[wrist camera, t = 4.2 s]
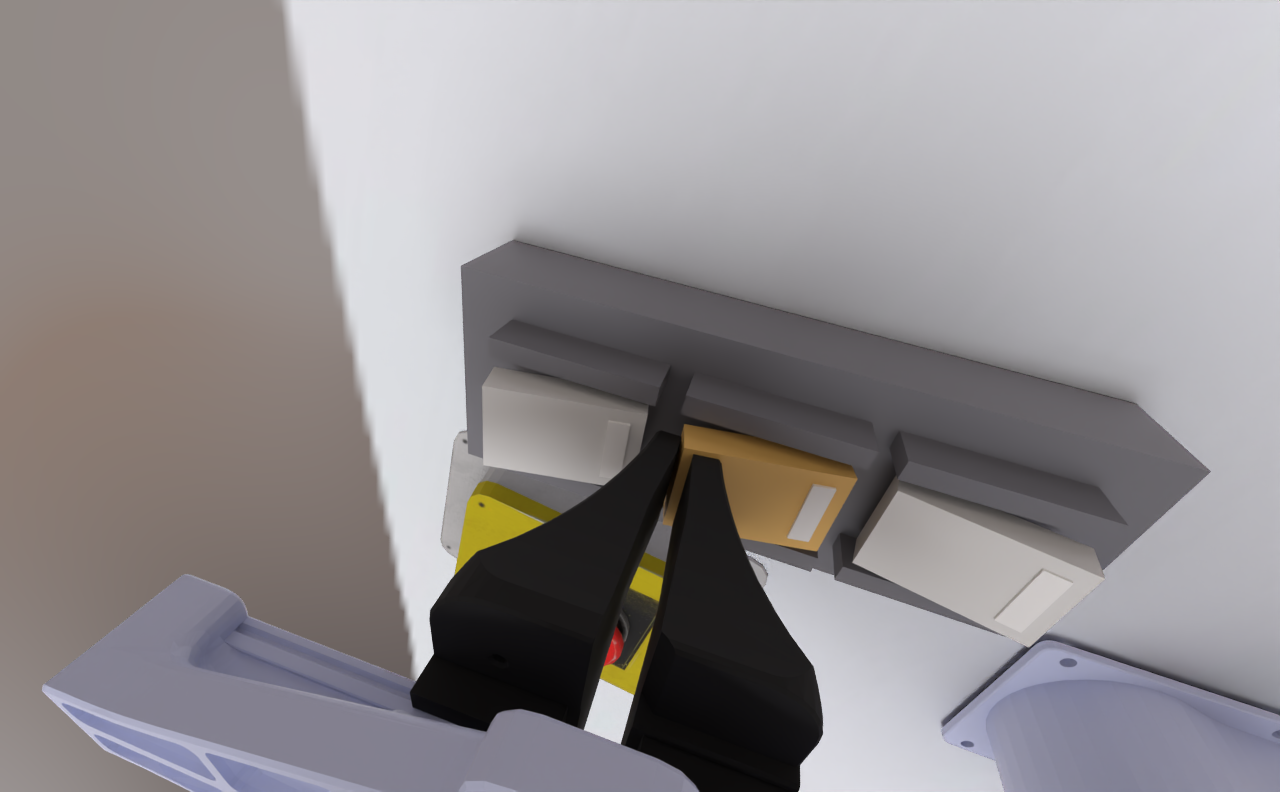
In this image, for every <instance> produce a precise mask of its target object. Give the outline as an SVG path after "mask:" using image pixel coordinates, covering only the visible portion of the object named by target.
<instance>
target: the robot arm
mask: <svg viewBox="0 0 1280 792" xmlns="http://www.w3.org/2000/svg"><path fill="white" fill-rule="evenodd" d="M680 442H681V436H679V435H675V434H672V433H668V432H665V431H662V430H660V431H658V432H656V433H655V435H654V436H653V438H652V439H651V440H650V442H649V443H648V444H647V445H646V446H645V447H644V449H643V450H642V451H641V452H640V453H639V454H638V455H637V456H636V457H635V458H634V459H633V460H632V461H631V462H630V463H629V464H628V465H627V466H626V467H625V468H624V469H623V470H621V471H620V472H619V473H618V474H617V475H616V476H614V477H613V478H612V479H611V480H610V481H608V482H607V483H606V484H605V485H604V486H602V487H601V488H600V489H599V490H597V491H596V492H595V493H593V494H592V495H590V496H589V497H588V498H586V499H585V500H583V501H582V502H580V503H579V504H577V505H576V506H574V507H572V508H571V509H569V510H567V511H566V512H564V513H562V514H561V515H559V516H557V517H555V518H554V519H552V520H550V521H548V522H546V523H544V524H542V525H540V526H538V527H536V528H533V529H531V530H529V531H527V532H525V533H523V534H521V535H519V536H516V537H514V538H512V539H509V540H506V541H503V542H501V543H498V544H495V545H493V546H490V547H487V548H485V549H482V550H479V551H477V552H476V553H475V554H474V555H473V556H472V557H471V558H470V559H469V560H468V561H467V562H466V563H465V564H464V565H463V567H462V568H461V569H460V570H459V571H458V572H457V573H456V574H455V575H454V577H453V578H452V579H451V580H450V582H449V583H448V585H447V586H446V588H445V589H444V591H443V592H442V594H441V595H440V597H439V598H438V600H437V601H436V603H435V604H434V605H433V607H432V608H431V610H430V627H431V634H432V642H433V649H434V655H433V656H432V658H431V659H430V661H429V662H428V664H427V666H426V667H425V669H424V670H423V672H422V673H421V675H420V676H419V678H418V680H417V681H413V680H411V679H408V678H406V677H403V676H401V675H398V674H395V673H393V672H390V671H388V670H385V669H383V668H380V667H377V666H375V665H372V664H370V663H367V662H365V661H362V660H360V659H357V658H354V657H352V656H349V655H347V654H344V653H341V652H339V651H336V650H334V649H331V648H328V647H326V646H324V645H321V644H319V643H316V642H313V641H311V640H308V639H306V638H303V637H300V636H298V635H295V634H293V633H290V632H288V631H285V630H283V629H280V628H277V627H275V626H272V625H269V624H267V623H264V622H262V621H259V620H257V619H254V618H252V617H249V616H248V612H247V609H246V606H245V604H244V602H243V601H242V599H241V598H240V597H239V596H238V595H236V594H235V593H234V592H232V591H230V590H228V589H226V588H224V587H222V586H219V585H216V584H214V583H211V582H208V581H206V580H203V579H201V578H198V577H195V576H193V575H190V574H184V575H182V576H180V577H179V578H178V579H177V580H175V581H174V582H173V583H172V584H170V585H169V586H168V587H167V588H165V589H164V590H163V591H161V592H160V593H159V594H158V595H157V596H155V597H154V598H153V599H151V600H150V601H149V602H148V603H146V604H145V605H144V606H142V607H141V608H140V609H139V610H137V611H136V612H135V613H134V614H132V615H131V616H130V617H129V618H127V619H126V620H125V621H123V622H122V623H121V624H120V625H118V627H116V628H115V629H113V630H112V631H111V632H109V633H108V634H107V635H106V636H104V637H103V638H102V639H101V640H99V641H98V642H97V643H96V644H94V645H93V646H92V647H90V648H89V649H88V650H87V651H85V652H84V653H83V654H82V655H80V656H79V657H78V658H77V659H75V660H74V661H73V662H71V663H70V664H69V665H68V666H66V667H65V668H64V669H63V670H61V671H60V672H59V673H58V674H56V675H55V676H54V677H52V678H51V679H50V680H49V681H47V682H46V683H45V684H44V685H43V688H42V691H43V693H45V694H46V695H47V696H48V697H49V698H50V699H51V700H52V701H53V702H54V703H55V704H56V705H57V706H58V707H59V708H60V709H62V711H64V712H65V713H66V714H67V715H68V716H69V717H70V718H71V719H72V720H73V721H74V722H75V723H76V724H77V725H78V726H79V727H80V728H82V729H83V730H84V731H85V732H86V733H87V734H88V735H89V736H90V737H91V738H92V739H93V740H94V741H95V742H96V743H97V744H98V745H100V746H101V747H102V748H103V749H104V750H105V751H107V752H110V753H112V754H114V755H116V756H119V757H121V758H123V759H125V760H127V761H129V762H131V763H133V764H136V765H138V766H140V767H142V768H144V769H146V770H148V771H150V772H153V773H154V774H157V775H158V776H160V777H162V778H165V779H167V780H169V781H171V782H173V783H175V784H177V785H179V786H181V787H183V788H185V789H186V790H189V791H191V792H798V791H799V788H800V764H801V763H802V762H803V761H804V760H805V758H806V757H807V756H808V755H809V754H810V753H811V751H812V750H813V749H814V748H815V747H816V746H817V744H818V743H819V741H820V739H821V737H822V735H823V715H822V707H821V701H820V695H819V689H818V684H817V680H816V675H815V671H814V667H813V665H812V664H811V663H810V661H809V660H808V659H807V657H806V656H805V654H804V653H803V652H802V650H801V649H800V648H799V646H798V645H797V643H796V642H795V641H794V639H793V638H792V637H791V635H790V634H789V632H788V631H787V629H786V627H785V626H784V624H783V623H782V621H781V620H780V618H779V616H778V615H777V613H776V612H775V610H774V608H773V606H772V604H771V602H770V601H769V599H768V597H767V595H766V593H765V592H764V590H763V588H762V586H761V584H760V582H759V581H758V579H757V576H756V574H755V572H754V570H753V568H752V566H751V564H750V561H749V559H748V557H747V554H746V552H745V550H744V547H743V545H742V542H741V539H740V536H739V534H738V531H737V528H736V525H735V522H734V519H733V515H732V512H731V508H730V504H729V500H728V496H727V492H726V488H725V483H724V477H723V470H722V463H721V462H720V460H719V459H715V458H710V457H705V456H700V455H696V454H693V457H692V460H691V464H690V467H689V470H688V474H687V477H686V480H685V484H684V487H683V491H682V494H681V497H680V501H679V504H678V507H677V511H676V514H675V518H674V521H673V524H672V530H671V535H670V541H669V547H668V553H667V558H666V564H665V570H664V576H663V582H662V588H661V593H660V599H659V603H658V608H657V613H656V617H655V620H654V624H653V628H652V631H651V635H650V639H649V643H648V646H647V650H646V654H645V657H644V661H643V665H642V668H641V672H640V676H639V680H638V683H637V687H636V691H635V694H634V698H633V702H632V705H631V709H630V713H629V716H628V720H627V724H626V727H625V731H624V734H623V738H622V742H621V744H618V743H616V742H613V741H610V740H608V739H605V738H603V737H600V736H597V735H595V734H592V733H590V732H587V731H584V727H585V724H586V721H587V717H588V714H589V711H590V708H591V705H592V701H593V698H594V695H595V692H596V689H597V686H598V682H599V679H600V676H601V673H602V670H603V667H604V663H605V660H606V657H607V654H608V651H609V648H610V645H611V641H612V638H613V635H614V632H615V629H616V626H617V623H618V620H619V616H620V613H621V610H622V607H623V604H624V601H625V598H626V596H627V593H628V590H629V588H630V585H631V583H632V581H633V578H634V576H635V574H636V571H637V569H638V567H639V564H640V562H641V560H642V557H643V555H644V553H645V550H646V548H647V546H648V543H649V541H650V539H651V536H652V534H653V532H654V529H655V527H656V525H657V522H658V519H659V516H660V513H661V510H662V506H663V503H664V500H665V496H666V493H667V489H668V486H669V482H670V478H671V475H672V471H673V467H674V464H675V460H676V456H677V453H678V449H679V445H680ZM941 731H942V735H943V739H944V740H945V741H946V742H947V743H949V744H952V745H954V746H957V747H960V748H962V749H965V750H968V751H971V752H973V753H976V754H979V755H981V756H984V757H987V758H990V759H992V760H995V761H996V764H997V768H998V771H999V775H1000V778H1001V781H1002V785H1003V788H1004V792H1280V715H1278V714H1275V713H1272V712H1269V711H1266V710H1263V709H1259V708H1256V707H1253V706H1250V705H1247V704H1244V703H1241V702H1238V701H1235V700H1232V699H1229V698H1226V697H1223V696H1220V695H1217V694H1214V693H1211V692H1208V691H1205V690H1202V689H1199V688H1196V687H1193V686H1190V685H1187V684H1184V683H1181V682H1178V681H1175V680H1172V679H1169V678H1166V677H1163V676H1160V675H1157V674H1154V673H1151V672H1148V671H1144V670H1141V669H1138V668H1135V667H1132V666H1129V665H1126V664H1123V663H1120V662H1117V661H1114V660H1111V659H1108V658H1105V657H1102V656H1099V655H1096V654H1093V653H1090V652H1087V651H1084V650H1081V649H1078V648H1075V647H1072V646H1069V645H1066V644H1063V643H1060V642H1057V641H1052V640H1045V641H1041V642H1039V643H1037V644H1036V645H1035V646H1034V647H1032V648H1031V649H1030V650H1029V651H1028V652H1027V653H1026V654H1025V655H1023V656H1022V657H1021V658H1020V659H1019V660H1018V661H1017V662H1016V663H1014V664H1013V665H1012V666H1011V667H1010V668H1009V669H1008V670H1007V671H1005V672H1004V673H1003V674H1002V675H1001V676H1000V677H999V678H998V679H996V680H995V681H994V682H993V683H992V684H991V685H990V686H989V687H987V688H986V689H985V690H984V691H983V692H982V693H981V694H980V695H978V696H977V697H976V698H975V699H974V700H973V701H972V702H971V703H969V704H968V705H967V706H966V707H965V708H964V709H963V710H962V711H960V712H959V713H958V714H957V715H956V716H955V717H954V718H953V719H951V720H950V721H949V722H948V723H947V724H946V725H945V726H944V727H942V729H941Z"/></svg>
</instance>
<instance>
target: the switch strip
mask: <svg viewBox="0 0 1280 792" xmlns="http://www.w3.org/2000/svg"><path fill="white" fill-rule="evenodd" d="M461 279H462V306H463V333H464V359H465V386H466V413H467V440H468V454H471V455H474V456H477V457H480V458H483V410H482V385H483V384H484V382H485V380H486V379H487V377H488V376H489V374H490V373H491V371H492V369H493V368H494V367H498V368H504V369H510V370H515V371H521V372H527V373H532V374H538V375H544V376H549V377H555V378H561V379H565V380H568V381H572V382H575V383H578V384H582V385H585V386H588V387H592V388H595V389H598V390H602V391H605V392H608V393H612V394H615V395H618V396H622V397H625V398H628V399H632V400H635V401H638V402H642V403H645V404H648V405H649V406H648V416H647V420H646V425H645V429H644V434H643V439H642V443H641V448H640V452H641V451H642V450H643V449H644V447H645V446H646V445H647V444H648V443H649V442H650V440H651V439H652V438H653V436H654V435H655V433H656V432H658V431H660V430H662V431H665V432H668V433H672V434H675V435H679V436H681V434H682V430H683V427H684V424H688V425H693V426H699V427H704V428H710V429H716V430H721V431H727V432H732V433H738V434H743V435H749V436H754V437H758V438H762V439H765V440H768V441H772V442H775V443H778V444H782V445H785V446H788V447H792V448H795V449H798V450H802V451H805V452H808V453H812V454H815V455H818V456H821V457H825V458H828V459H831V460H835V461H838V462H841V463H845V464H848V465H851V466H852V467H853V469H854V472H855V474H856V476H857V481H856V483H855V485H854V486H853V488H852V490H851V492H850V493H849V495H848V497H847V499H846V501H845V502H844V504H843V506H842V508H841V509H840V511H839V513H838V515H837V517H836V518H835V520H834V522H833V524H832V525H831V527H830V529H829V531H828V533H827V534H826V536H825V538H824V540H823V541H822V543H821V545H820V547H819V549H818V550H817V551H811V550H805V549H800V548H794V547H788V546H782V545H777V544H771V543H765V542H760V541H754V540H748V539H742V538H740V539H741V542H742V545H743V547H744V550H747V551H750V552H753V553H756V554H759V555H762V556H765V557H768V558H771V559H774V560H777V561H780V562H783V563H786V564H789V565H792V566H795V567H798V568H801V569H804V570H807V571H810V572H811V570H812V568H814V569H817V570H820V571H823V572H826V573H829V574H832V575H834V577H835V580H837V581H840V582H843V583H846V584H849V585H852V586H855V587H858V588H861V589H864V590H867V591H870V592H873V593H876V594H879V595H882V596H885V597H888V598H891V599H894V600H897V601H900V602H903V603H906V604H909V605H912V606H915V607H918V608H921V609H924V610H927V611H930V612H933V613H936V614H939V615H942V616H945V617H948V618H951V619H954V620H957V621H960V622H963V623H966V624H969V625H972V626H975V627H978V628H981V629H984V630H987V631H990V632H993V633H996V634H999V633H997V632H995V631H993V630H991V629H989V628H987V627H985V626H983V625H981V624H979V623H977V622H975V621H973V620H970V619H968V618H966V617H964V616H962V615H960V614H958V613H956V612H954V611H952V610H950V609H948V608H946V607H944V606H941V605H939V604H937V603H935V602H933V601H931V600H929V599H927V598H925V597H923V596H921V595H919V594H917V593H914V592H912V591H910V590H908V589H906V588H904V587H902V586H900V585H898V584H896V583H894V582H892V581H890V580H888V579H885V578H883V577H881V576H879V575H877V574H875V573H873V572H871V571H869V570H867V569H865V568H863V567H861V566H859V565H856V564H854V563H852V562H853V556H854V550H855V545H856V539H857V537H858V536H859V534H860V533H861V531H862V529H863V528H864V526H865V524H866V523H867V521H868V520H869V518H870V516H871V515H872V513H873V512H874V510H875V508H876V507H877V505H878V503H879V502H880V500H881V499H882V497H883V495H884V494H885V492H886V490H887V489H888V487H889V486H890V484H891V482H892V481H893V479H894V478H895V476H897V479H898V480H901V481H905V482H908V483H911V484H915V485H918V486H921V487H925V488H928V489H931V490H935V491H938V492H941V493H945V494H948V495H951V496H955V497H958V498H961V499H965V500H968V501H971V502H975V503H978V504H981V505H985V506H988V507H991V508H995V509H998V510H1001V511H1004V512H1006V513H1009V514H1011V515H1014V516H1016V517H1019V518H1021V519H1023V520H1026V521H1028V522H1031V523H1033V524H1036V525H1038V526H1040V527H1043V528H1045V529H1048V530H1050V531H1053V532H1055V533H1057V534H1060V535H1062V536H1065V537H1067V538H1070V539H1072V540H1074V541H1077V542H1079V543H1082V544H1084V545H1087V546H1089V547H1091V548H1094V550H1095V553H1096V556H1097V558H1098V561H1099V563H1100V566H1101V569H1102V570H1104V569H1105V568H1106V567H1107V566H1108V565H1109V564H1110V563H1111V562H1112V561H1113V560H1115V559H1116V558H1117V557H1118V556H1119V555H1120V554H1121V553H1122V552H1123V551H1124V550H1126V549H1127V548H1128V547H1129V546H1130V545H1131V544H1132V543H1133V542H1134V541H1135V540H1136V539H1138V538H1139V537H1140V536H1141V535H1142V534H1143V533H1144V532H1145V531H1146V530H1147V529H1149V528H1150V527H1151V526H1152V525H1153V524H1154V523H1155V522H1156V521H1157V520H1158V519H1159V518H1161V517H1162V516H1163V515H1164V514H1165V513H1166V512H1167V511H1168V510H1169V509H1170V508H1172V507H1173V506H1174V505H1175V504H1176V503H1177V502H1178V501H1179V500H1180V499H1181V498H1183V497H1184V496H1185V495H1186V494H1187V493H1188V492H1189V491H1190V490H1191V489H1192V488H1193V487H1195V486H1196V485H1197V484H1198V483H1199V482H1200V481H1201V480H1202V479H1203V478H1204V477H1206V476H1207V475H1208V474H1209V473H1210V472H1211V471H1210V470H1208V469H1207V468H1206V467H1205V466H1204V465H1203V464H1202V463H1201V462H1200V461H1199V460H1197V459H1196V458H1195V457H1194V456H1193V455H1192V454H1191V453H1190V452H1189V451H1188V450H1186V449H1185V448H1184V447H1183V446H1182V445H1181V444H1180V443H1179V442H1178V441H1177V440H1175V439H1174V438H1173V437H1172V436H1171V435H1170V434H1169V433H1168V432H1167V431H1166V430H1165V429H1163V428H1162V427H1161V426H1160V425H1159V424H1158V423H1157V422H1156V421H1155V420H1154V419H1152V418H1151V417H1150V416H1149V415H1148V414H1147V413H1146V412H1145V411H1144V410H1143V409H1141V408H1140V407H1139V406H1138V405H1137V404H1134V403H1131V402H1127V401H1123V400H1119V399H1115V398H1112V397H1108V396H1104V395H1100V394H1096V393H1093V392H1089V391H1085V390H1081V389H1077V388H1073V387H1070V386H1066V385H1062V384H1058V383H1054V382H1051V381H1047V380H1043V379H1039V378H1035V377H1032V376H1028V375H1024V374H1020V373H1016V372H1012V371H1009V370H1005V369H1001V368H997V367H993V366H990V365H986V364H982V363H978V362H974V361H971V360H967V359H963V358H959V357H955V356H952V355H948V354H944V353H940V352H936V351H932V350H929V349H925V348H921V347H917V346H913V345H910V344H906V343H902V342H898V341H894V340H891V339H887V338H883V337H879V336H875V335H872V334H868V333H864V332H860V331H856V330H852V329H849V328H845V327H841V326H837V325H833V324H830V323H826V322H822V321H818V320H814V319H811V318H807V317H803V316H799V315H795V314H791V313H788V312H784V311H780V310H776V309H772V308H769V307H765V306H761V305H757V304H753V303H750V302H746V301H742V300H738V299H734V298H731V297H727V296H723V295H719V294H715V293H711V292H708V291H704V290H700V289H696V288H692V287H689V286H685V285H681V284H677V283H673V282H670V281H666V280H662V279H658V278H654V277H651V276H647V275H643V274H639V273H635V272H631V271H628V270H624V269H620V268H616V267H612V266H609V265H605V264H601V263H597V262H593V261H590V260H586V259H582V258H578V257H574V256H571V255H567V254H563V253H559V252H555V251H551V250H548V249H544V248H540V247H536V246H532V245H529V244H525V243H521V242H517V241H513V240H512V241H510V242H508V243H506V244H504V245H502V246H500V247H498V248H496V249H494V250H492V251H490V252H488V253H486V254H484V255H482V256H480V257H478V258H476V259H474V260H472V261H470V262H468V263H466V264H464V265H462V266H461ZM640 452H639V453H640ZM501 469H503V468H501ZM504 470H507V471H510V472H513V473H516V474H519V475H522V476H525V477H528V478H531V479H534V480H537V481H540V482H543V483H546V484H549V485H552V486H555V487H558V488H561V489H564V490H567V491H570V492H573V493H576V494H579V495H582V496H585V497H589V496H590V495H592V494H593V493H595V492H596V491H597V490H599V489H600V488H601V487H602V486H604V485H598V484H592V483H586V482H580V481H574V480H568V479H562V478H556V477H550V476H544V475H538V474H533V473H527V472H521V471H515V470H509V469H504ZM663 507H664V503H663V506H662V510H661V513H660V516H659V519H658V521H660V522H663ZM999 635H1002V634H999ZM1002 636H1004V635H1002ZM1005 637H1006V636H1005Z"/></svg>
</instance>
